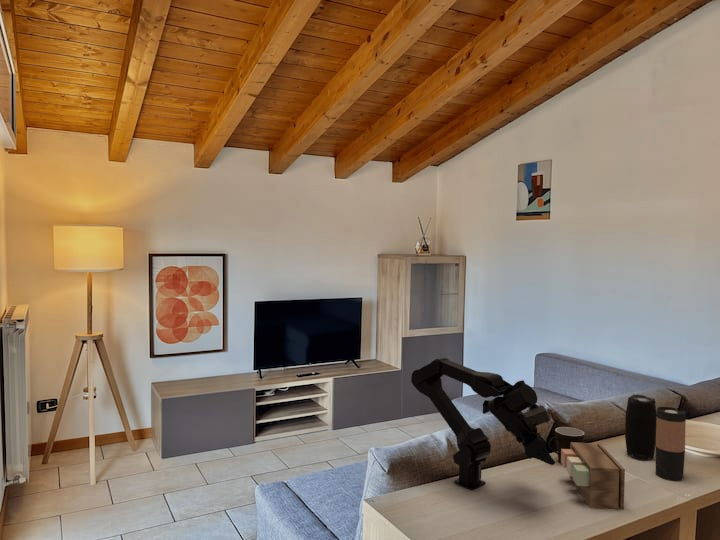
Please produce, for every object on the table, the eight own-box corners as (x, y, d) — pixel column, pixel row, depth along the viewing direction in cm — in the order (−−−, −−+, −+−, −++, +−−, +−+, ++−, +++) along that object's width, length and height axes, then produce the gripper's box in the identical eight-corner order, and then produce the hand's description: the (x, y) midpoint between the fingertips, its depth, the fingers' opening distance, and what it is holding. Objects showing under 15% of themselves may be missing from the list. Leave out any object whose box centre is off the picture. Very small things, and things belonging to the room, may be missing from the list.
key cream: (570, 476, 148) (570, 462, 148) (566, 470, 152) (566, 456, 152) (593, 477, 147) (593, 463, 147) (588, 471, 151) (588, 457, 151)
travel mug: (656, 478, 159) (658, 412, 158) (653, 469, 166) (655, 405, 165) (686, 483, 156) (688, 415, 155) (681, 473, 163) (683, 408, 163)
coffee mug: (578, 458, 175) (579, 427, 174) (587, 468, 166) (588, 436, 166) (542, 456, 176) (542, 426, 176) (548, 466, 167) (549, 434, 167)
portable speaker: (662, 460, 174) (663, 400, 173) (638, 462, 171) (639, 402, 171) (641, 450, 182) (643, 393, 181) (618, 452, 180) (620, 395, 179)
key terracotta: (564, 467, 154) (564, 453, 154) (560, 462, 158) (561, 448, 158) (586, 468, 153) (586, 454, 153) (582, 463, 157) (582, 449, 157)
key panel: (590, 507, 140) (591, 467, 140) (569, 477, 159) (570, 442, 159) (623, 509, 140) (624, 469, 139) (599, 479, 158) (599, 443, 158)
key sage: (577, 485, 142) (577, 470, 142) (572, 479, 146) (573, 464, 146) (600, 486, 141) (601, 471, 141) (595, 480, 145) (596, 466, 145)
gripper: (539, 406, 135) (583, 451, 135) (524, 387, 154) (563, 427, 153) (506, 435, 136) (550, 481, 136) (495, 413, 155) (534, 453, 154)
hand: (550, 458), depth 145 cm, fingers open, 7 cm apart
